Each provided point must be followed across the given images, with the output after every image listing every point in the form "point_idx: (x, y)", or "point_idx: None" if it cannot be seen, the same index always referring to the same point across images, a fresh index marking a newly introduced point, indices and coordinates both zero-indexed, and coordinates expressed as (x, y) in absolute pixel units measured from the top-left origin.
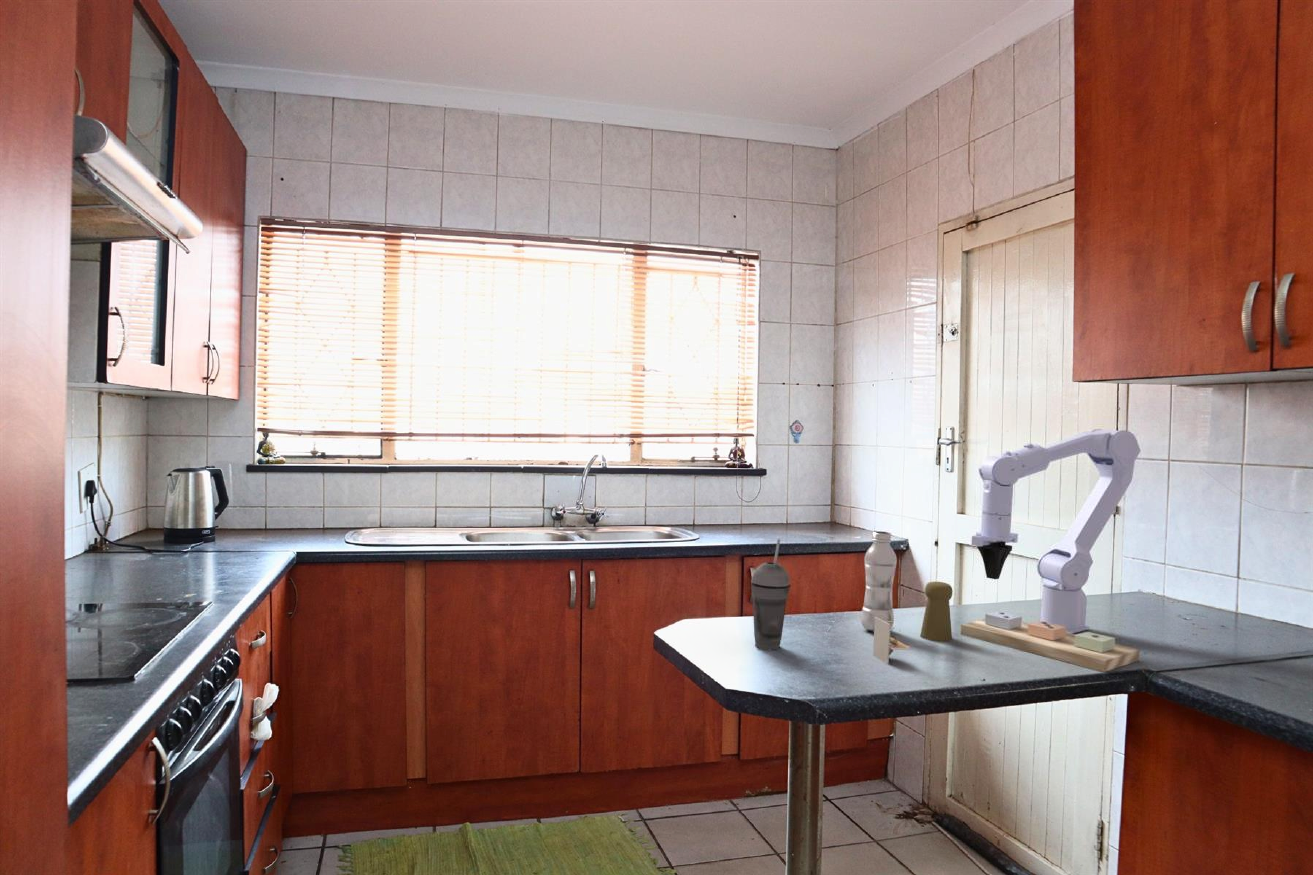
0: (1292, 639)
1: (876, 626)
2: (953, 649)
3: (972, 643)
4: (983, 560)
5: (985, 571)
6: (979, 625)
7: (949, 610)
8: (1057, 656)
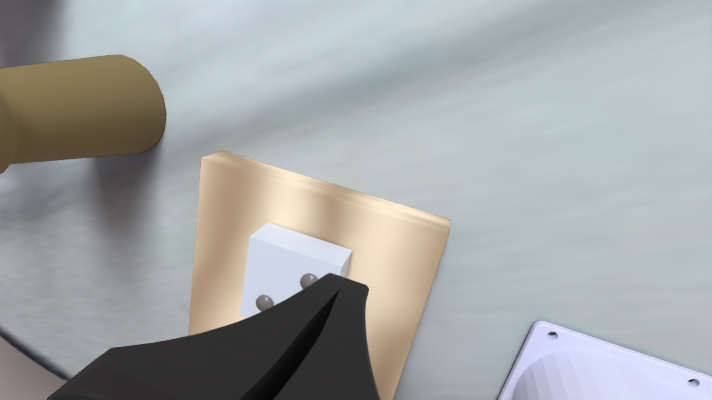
0: None
1: None
2: (70, 185)
3: (159, 208)
4: (248, 319)
5: (312, 283)
6: (239, 210)
7: (45, 160)
8: None
